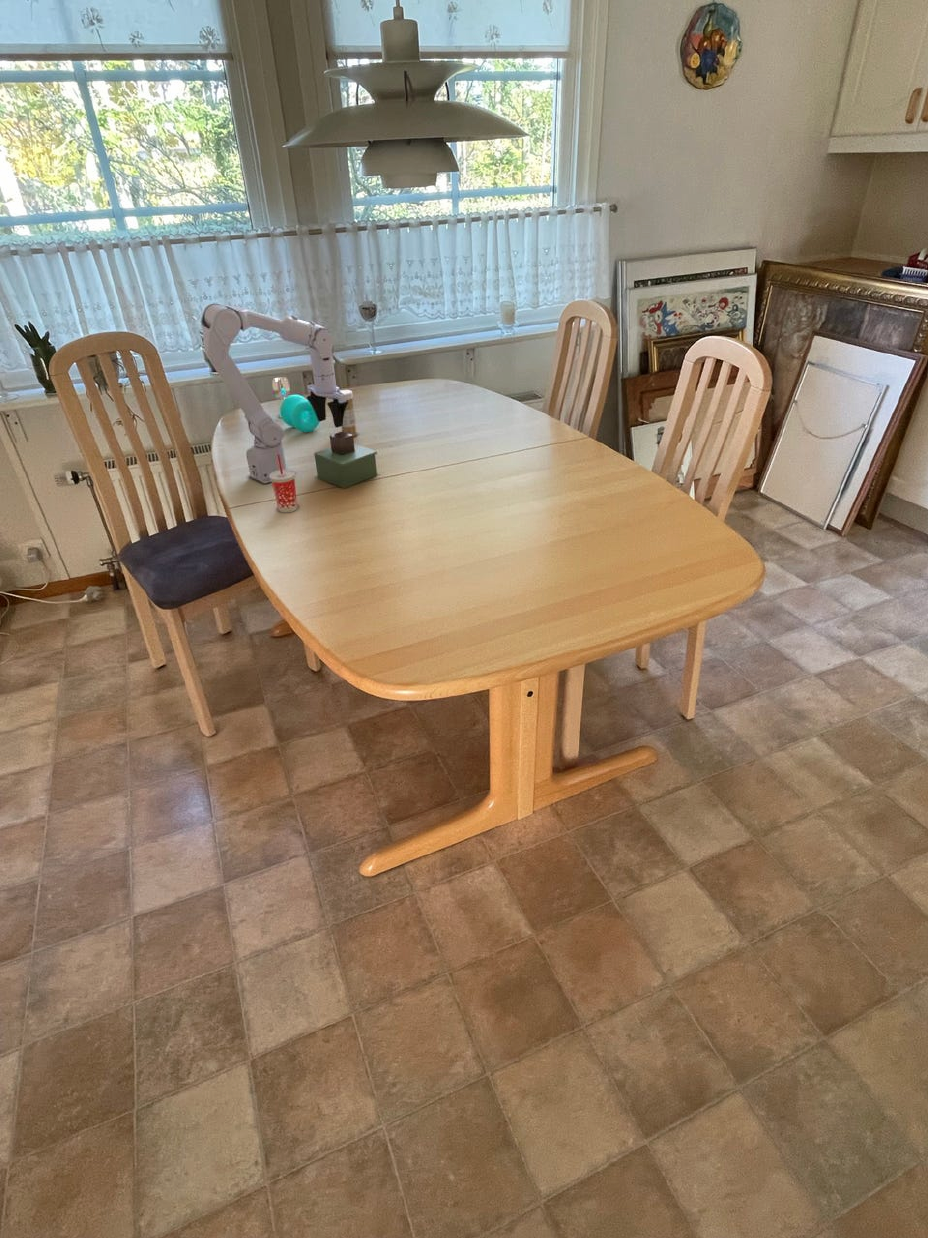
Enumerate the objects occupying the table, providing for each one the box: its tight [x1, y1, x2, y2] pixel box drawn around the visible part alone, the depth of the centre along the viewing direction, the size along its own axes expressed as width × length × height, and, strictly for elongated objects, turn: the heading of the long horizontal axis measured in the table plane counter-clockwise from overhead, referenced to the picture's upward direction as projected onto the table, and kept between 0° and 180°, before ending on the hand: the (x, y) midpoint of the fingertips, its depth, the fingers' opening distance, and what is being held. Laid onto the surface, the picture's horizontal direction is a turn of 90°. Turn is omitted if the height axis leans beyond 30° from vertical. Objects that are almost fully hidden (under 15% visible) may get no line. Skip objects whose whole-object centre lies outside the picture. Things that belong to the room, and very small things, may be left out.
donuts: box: [279, 394, 321, 433], centre depth 217 cm, size 10×10×10 cm
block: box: [329, 430, 355, 455], centre depth 184 cm, size 4×4×4 cm
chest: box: [314, 454, 378, 489], centre depth 187 cm, size 11×12×6 cm
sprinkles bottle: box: [339, 389, 358, 438], centre depth 211 cm, size 5×5×14 cm
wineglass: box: [271, 376, 292, 418], centre depth 228 cm, size 6×6×12 cm
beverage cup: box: [269, 454, 298, 513], centre depth 169 cm, size 6×6×14 cm
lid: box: [313, 442, 378, 467], centre depth 185 cm, size 12×12×1 cm
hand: (330, 423), depth 193 cm, fingers open, 7 cm apart
